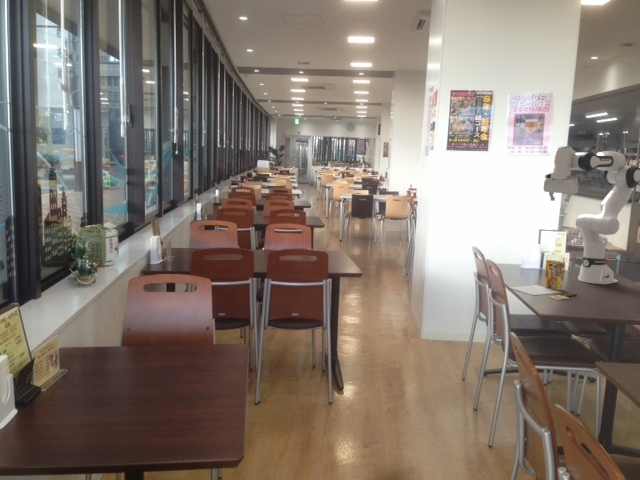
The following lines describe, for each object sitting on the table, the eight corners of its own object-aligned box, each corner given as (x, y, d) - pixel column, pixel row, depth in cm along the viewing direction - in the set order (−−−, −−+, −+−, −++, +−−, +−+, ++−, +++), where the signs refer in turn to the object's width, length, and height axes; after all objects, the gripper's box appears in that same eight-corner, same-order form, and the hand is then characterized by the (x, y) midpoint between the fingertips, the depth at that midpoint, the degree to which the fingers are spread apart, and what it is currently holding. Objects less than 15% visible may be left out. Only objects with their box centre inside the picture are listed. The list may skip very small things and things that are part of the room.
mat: (536, 285, 325) (536, 285, 324) (562, 292, 308) (562, 292, 308) (508, 288, 316) (508, 287, 316) (533, 295, 300) (533, 294, 300)
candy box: (563, 289, 316) (565, 261, 314) (559, 290, 313) (562, 262, 311) (547, 286, 322) (549, 259, 320) (543, 287, 320) (546, 260, 317)
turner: (570, 293, 306) (570, 291, 306) (580, 296, 301) (581, 293, 301) (548, 298, 296) (549, 295, 296) (559, 300, 291) (559, 297, 291)
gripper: (582, 176, 311) (579, 202, 313) (550, 175, 329) (548, 199, 331) (573, 176, 308) (571, 202, 310) (542, 175, 326) (540, 199, 328)
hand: (559, 201), depth 321 cm, fingers open, 8 cm apart
